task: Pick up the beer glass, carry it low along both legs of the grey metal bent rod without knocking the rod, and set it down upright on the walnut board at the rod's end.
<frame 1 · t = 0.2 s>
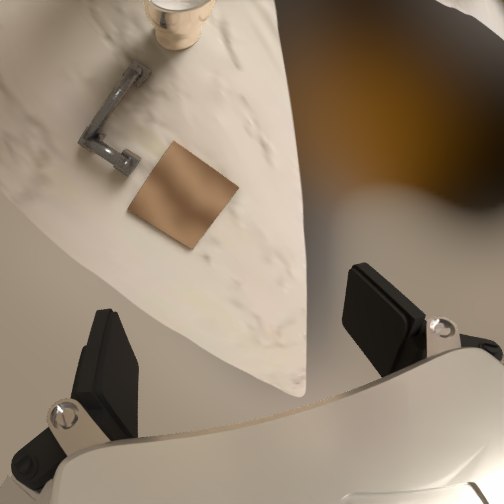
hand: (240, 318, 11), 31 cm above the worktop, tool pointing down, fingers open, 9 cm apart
walnut board: (182, 196, 39), on the worktop
beer glass: (178, 31, 29), on the worktop
grey metal bent rod: (94, 138, 32), on the worktop
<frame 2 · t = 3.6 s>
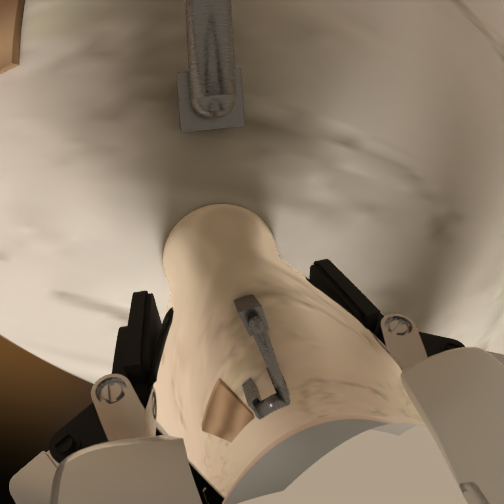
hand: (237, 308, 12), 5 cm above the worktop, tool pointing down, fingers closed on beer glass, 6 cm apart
beer glass: (219, 256, 16), on the worktop, touching gripper
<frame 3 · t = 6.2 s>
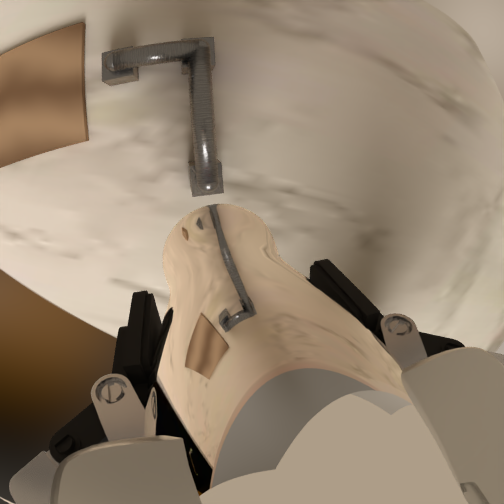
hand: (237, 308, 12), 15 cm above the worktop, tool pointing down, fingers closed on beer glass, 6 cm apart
walnut board: (31, 97, 17), on the worktop
beer glass: (219, 256, 16), point 10 cm above the worktop, touching gripper
grey metal bent rod: (196, 59, 19), on the worktop
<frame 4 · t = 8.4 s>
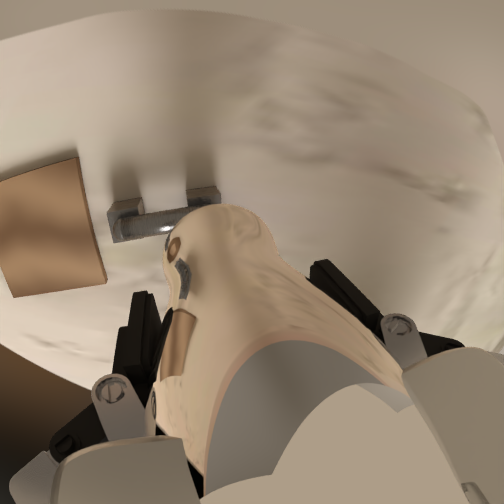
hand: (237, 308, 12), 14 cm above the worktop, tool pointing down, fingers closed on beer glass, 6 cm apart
walnut board: (38, 233, 20), on the worktop
beer glass: (218, 256, 16), point 9 cm above the worktop, touching gripper
grey metal bent rod: (202, 202, 23), on the worktop
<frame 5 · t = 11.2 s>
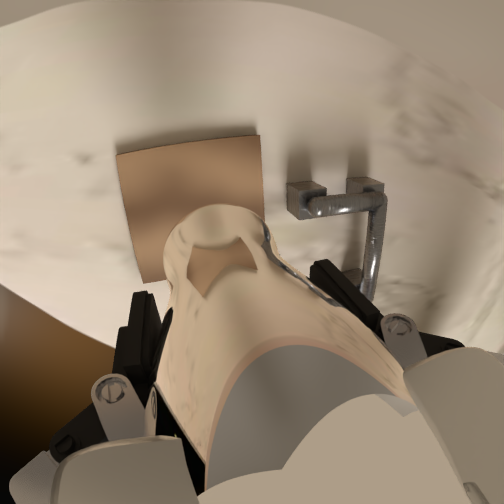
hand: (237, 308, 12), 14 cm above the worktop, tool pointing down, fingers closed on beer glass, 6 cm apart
walnut board: (195, 209, 23), on the worktop
beer glass: (219, 255, 16), point 9 cm above the worktop, touching gripper
grey metal bent rod: (356, 189, 26), on the worktop
when the fingers open (7 cm above the worktop, at t = 13.4 s): beer glass drops 1 cm, resting on walnut board.
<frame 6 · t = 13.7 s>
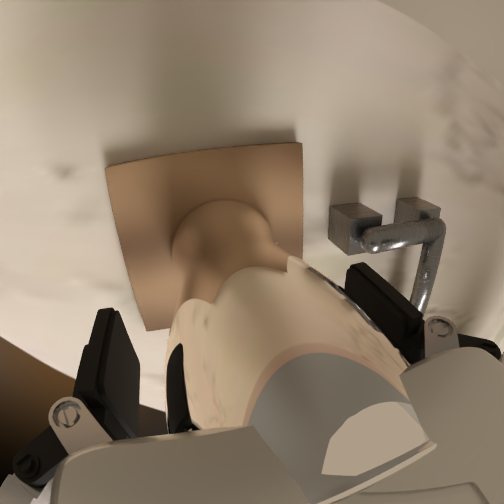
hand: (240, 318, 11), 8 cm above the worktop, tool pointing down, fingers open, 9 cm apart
walnut board: (213, 240, 18), on the worktop
beer glass: (222, 247, 17), point 1 cm above the worktop, touching walnut board
grey metal bent rod: (405, 212, 21), on the worktop
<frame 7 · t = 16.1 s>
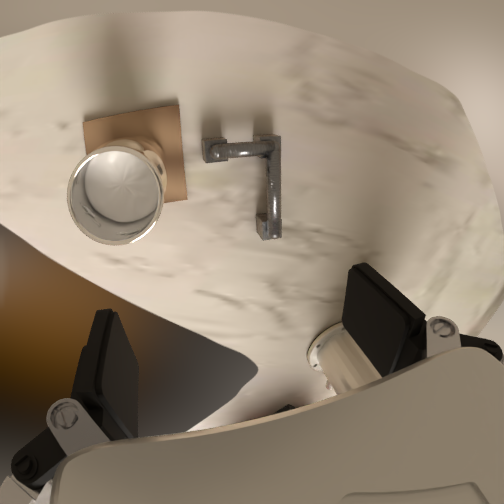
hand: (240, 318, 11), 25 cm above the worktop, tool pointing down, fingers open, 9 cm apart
walnut board: (135, 159, 30), on the worktop
beer glass: (138, 162, 30), point 1 cm above the worktop, touching walnut board
grey metal bent rod: (263, 144, 33), on the worktop
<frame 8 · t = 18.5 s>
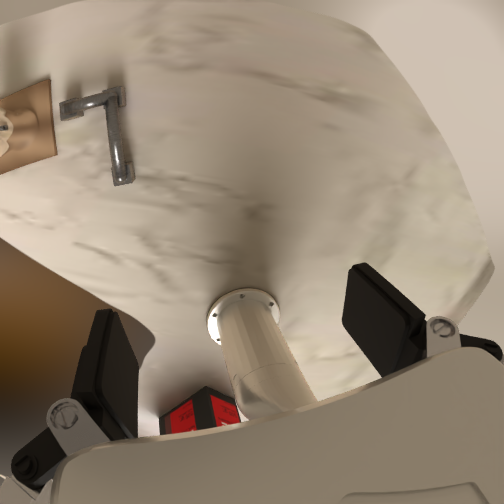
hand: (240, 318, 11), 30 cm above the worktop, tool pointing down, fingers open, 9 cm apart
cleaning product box: (195, 409, 58), on the worktop
walnut board: (21, 128, 27), on the worktop
beer glass: (22, 129, 27), point 1 cm above the worktop, touching walnut board
grey metal bent rod: (116, 99, 30), on the worktop
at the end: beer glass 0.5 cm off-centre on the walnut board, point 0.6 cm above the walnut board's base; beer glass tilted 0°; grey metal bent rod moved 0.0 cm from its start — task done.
